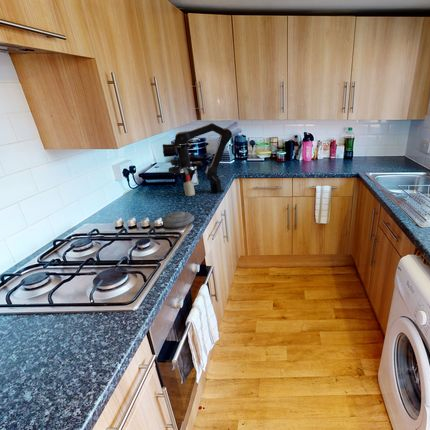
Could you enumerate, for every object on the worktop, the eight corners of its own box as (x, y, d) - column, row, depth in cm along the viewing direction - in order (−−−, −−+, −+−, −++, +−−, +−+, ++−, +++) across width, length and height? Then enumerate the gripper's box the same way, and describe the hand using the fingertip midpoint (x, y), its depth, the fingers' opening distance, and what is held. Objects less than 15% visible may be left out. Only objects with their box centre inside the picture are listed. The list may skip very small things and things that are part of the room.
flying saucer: (156, 230, 128) (154, 219, 126) (167, 217, 142) (165, 207, 140) (191, 229, 129) (189, 218, 127) (197, 215, 143) (196, 205, 141)
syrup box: (191, 186, 186) (188, 164, 181) (186, 184, 190) (182, 163, 184) (199, 184, 191) (195, 162, 185) (193, 182, 194) (190, 161, 188)
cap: (188, 179, 171) (187, 173, 170) (192, 180, 169) (191, 174, 168) (182, 180, 169) (181, 174, 167) (186, 181, 167) (185, 176, 165)
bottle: (196, 193, 173) (194, 175, 168) (189, 196, 169) (185, 177, 164) (191, 192, 176) (188, 174, 172) (183, 194, 172) (180, 176, 167)
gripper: (189, 151, 174) (192, 176, 180) (160, 156, 161) (165, 183, 167) (200, 153, 168) (204, 178, 174) (171, 159, 154) (176, 186, 161)
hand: (187, 181), depth 169 cm, fingers closed on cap, 3 cm apart
